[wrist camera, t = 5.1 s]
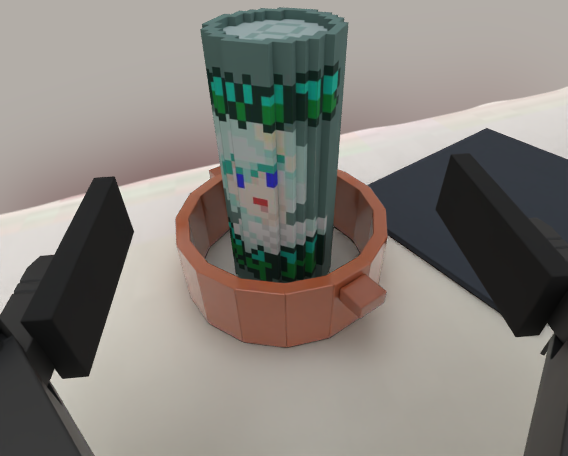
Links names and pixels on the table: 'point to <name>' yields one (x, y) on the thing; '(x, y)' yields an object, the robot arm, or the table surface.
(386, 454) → the table surface
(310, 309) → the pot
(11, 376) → the robot arm
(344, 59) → the can
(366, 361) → the table surface
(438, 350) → the table surface
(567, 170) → the mat
